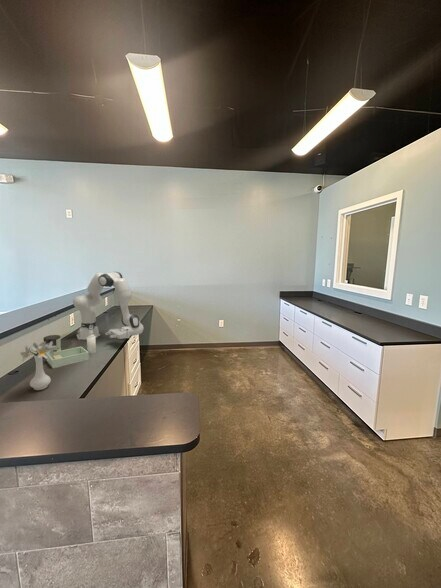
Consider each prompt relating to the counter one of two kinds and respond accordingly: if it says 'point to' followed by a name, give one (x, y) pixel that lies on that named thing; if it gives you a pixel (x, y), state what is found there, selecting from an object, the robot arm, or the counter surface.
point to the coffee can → (54, 339)
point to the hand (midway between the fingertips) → (107, 335)
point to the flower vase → (39, 363)
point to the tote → (68, 357)
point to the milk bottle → (91, 341)
